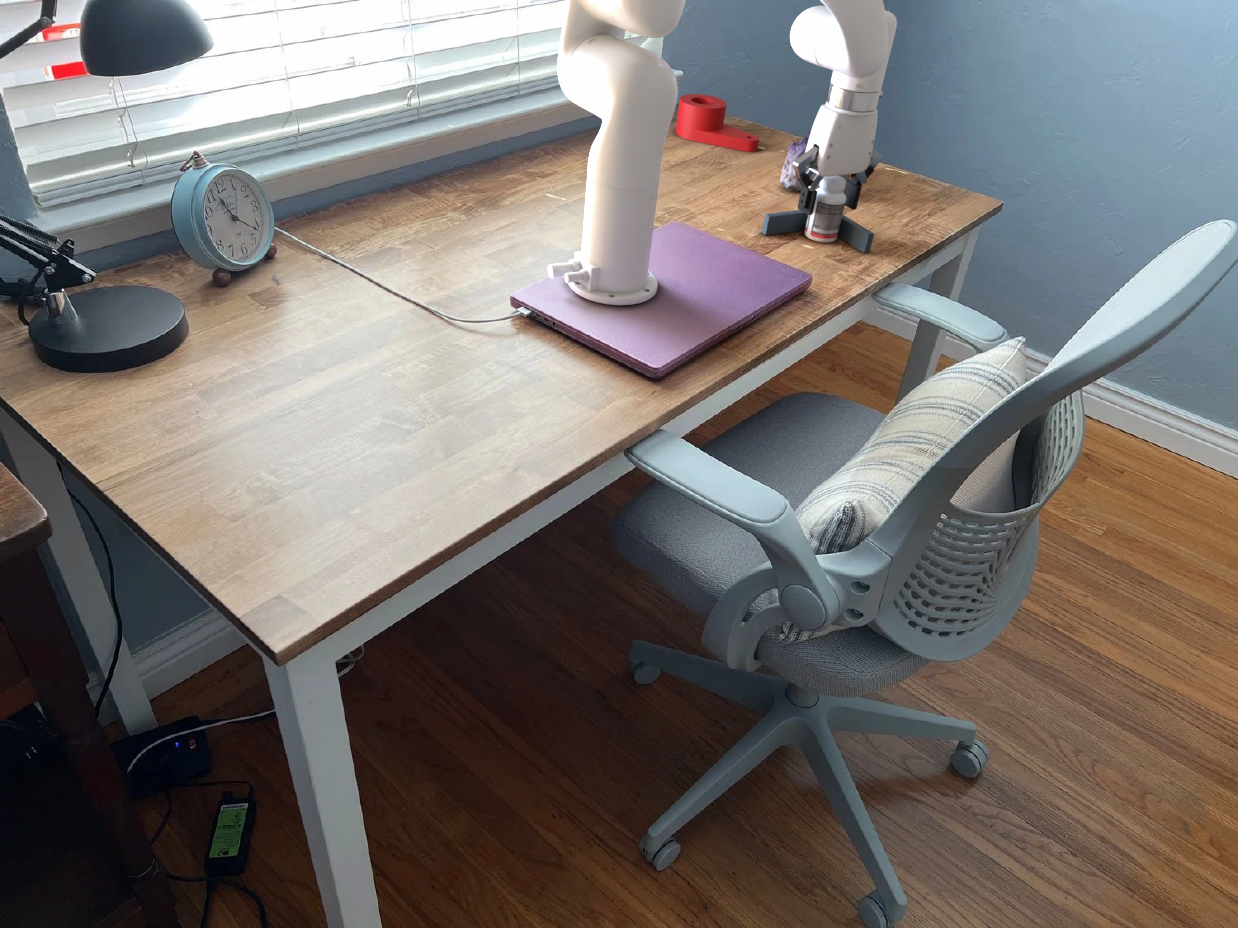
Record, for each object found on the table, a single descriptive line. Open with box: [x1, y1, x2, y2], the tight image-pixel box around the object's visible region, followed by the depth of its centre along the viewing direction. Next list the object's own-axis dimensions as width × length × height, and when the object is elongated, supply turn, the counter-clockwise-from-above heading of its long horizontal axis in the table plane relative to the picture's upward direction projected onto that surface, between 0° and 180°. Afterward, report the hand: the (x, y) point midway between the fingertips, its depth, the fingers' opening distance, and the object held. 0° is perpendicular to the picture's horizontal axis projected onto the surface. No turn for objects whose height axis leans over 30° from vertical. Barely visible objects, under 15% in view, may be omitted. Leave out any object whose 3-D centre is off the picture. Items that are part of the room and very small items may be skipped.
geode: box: [779, 130, 849, 192], centre depth 175 cm, size 20×12×10 cm, turn 155°
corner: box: [761, 209, 875, 254], centre depth 153 cm, size 13×12×3 cm
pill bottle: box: [804, 176, 846, 244], centre depth 153 cm, size 5×5×10 cm
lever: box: [675, 93, 760, 153], centre depth 191 cm, size 18×9×7 cm, turn 57°
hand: (826, 209), depth 153 cm, fingers open, 8 cm apart
